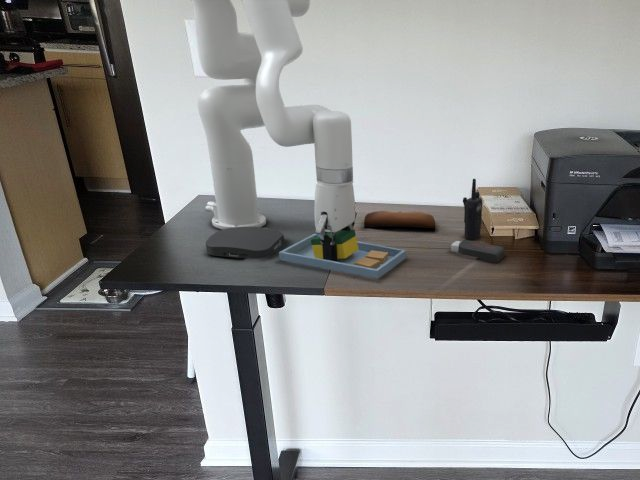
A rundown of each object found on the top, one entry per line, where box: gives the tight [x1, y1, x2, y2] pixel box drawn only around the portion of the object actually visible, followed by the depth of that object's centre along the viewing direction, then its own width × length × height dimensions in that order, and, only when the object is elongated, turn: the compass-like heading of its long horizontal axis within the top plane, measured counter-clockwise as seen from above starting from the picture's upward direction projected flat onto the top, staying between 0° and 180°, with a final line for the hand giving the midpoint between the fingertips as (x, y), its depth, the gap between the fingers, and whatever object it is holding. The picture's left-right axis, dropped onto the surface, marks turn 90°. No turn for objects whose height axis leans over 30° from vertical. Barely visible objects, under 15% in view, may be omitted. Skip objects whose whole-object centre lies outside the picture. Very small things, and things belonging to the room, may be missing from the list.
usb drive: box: [450, 239, 506, 264], centre depth 159 cm, size 5×12×3 cm, turn 70°
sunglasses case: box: [363, 210, 436, 231], centre depth 173 cm, size 18×7×7 cm
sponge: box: [311, 229, 359, 259], centre depth 149 cm, size 8×6×4 cm
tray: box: [278, 233, 407, 280], centre depth 150 cm, size 23×14×2 cm, turn 73°
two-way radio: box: [462, 178, 483, 241], centre depth 167 cm, size 6×4×15 cm
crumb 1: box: [354, 257, 380, 269], centre depth 146 cm, size 4×4×1 cm
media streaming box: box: [205, 226, 285, 259], centre depth 152 cm, size 15×15×3 cm
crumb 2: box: [365, 250, 388, 264], centre depth 150 cm, size 4×4×1 cm
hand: (338, 255), depth 150 cm, fingers closed on sponge, 6 cm apart
